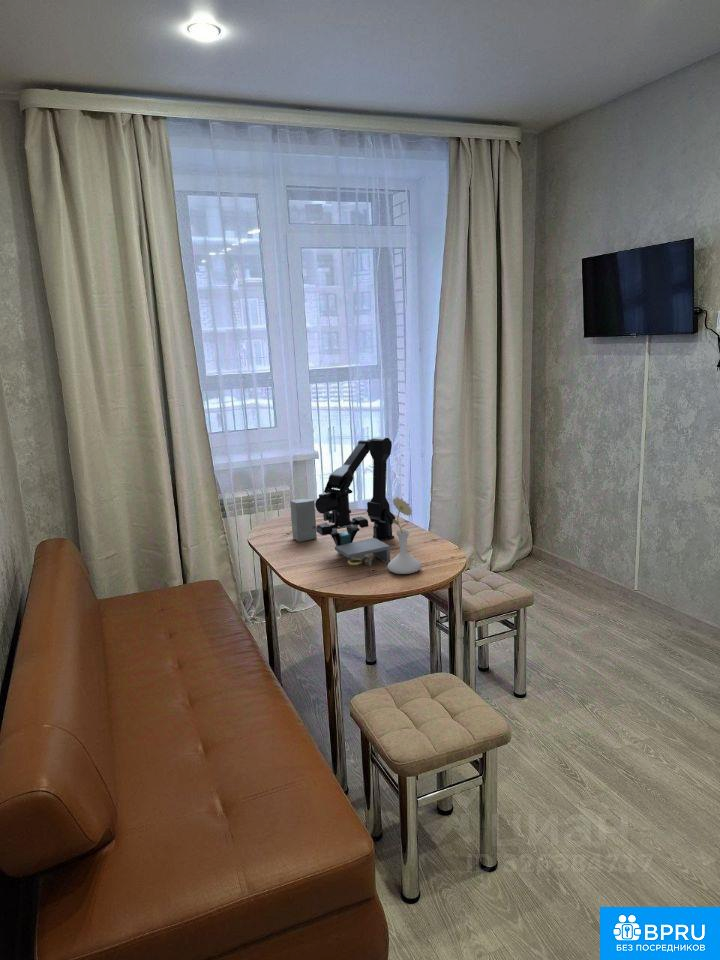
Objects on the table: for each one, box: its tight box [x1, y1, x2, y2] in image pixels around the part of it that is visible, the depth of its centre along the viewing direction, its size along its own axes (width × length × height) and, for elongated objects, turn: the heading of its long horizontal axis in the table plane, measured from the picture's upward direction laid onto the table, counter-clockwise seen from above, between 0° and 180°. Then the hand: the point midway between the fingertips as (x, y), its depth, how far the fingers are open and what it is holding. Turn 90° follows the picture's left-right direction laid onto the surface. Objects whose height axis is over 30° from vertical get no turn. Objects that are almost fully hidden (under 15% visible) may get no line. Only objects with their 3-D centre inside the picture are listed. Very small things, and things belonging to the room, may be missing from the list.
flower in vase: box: [387, 496, 422, 575], centre depth 219 cm, size 13×11×25 cm
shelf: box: [334, 537, 391, 564], centre depth 231 cm, size 16×11×6 cm
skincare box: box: [289, 497, 318, 543], centre depth 262 cm, size 8×7×16 cm
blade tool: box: [336, 531, 372, 567], centre depth 235 cm, size 4×20×7 cm, turn 30°
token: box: [347, 557, 363, 568], centre depth 230 cm, size 5×5×2 cm
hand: (343, 548), depth 242 cm, fingers closed on blade tool, 4 cm apart
